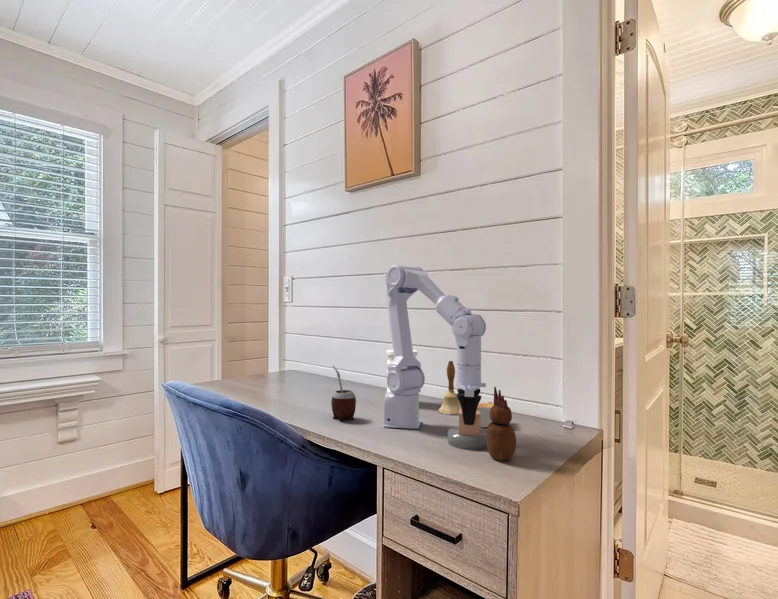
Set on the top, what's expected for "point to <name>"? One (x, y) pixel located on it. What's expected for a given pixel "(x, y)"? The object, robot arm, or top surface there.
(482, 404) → the small box
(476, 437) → the pedestal
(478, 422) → the block
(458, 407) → the hand bell
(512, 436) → the wooden figurine
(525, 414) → the top surface
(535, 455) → the top surface
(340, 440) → the top surface
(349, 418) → the mate gourd
